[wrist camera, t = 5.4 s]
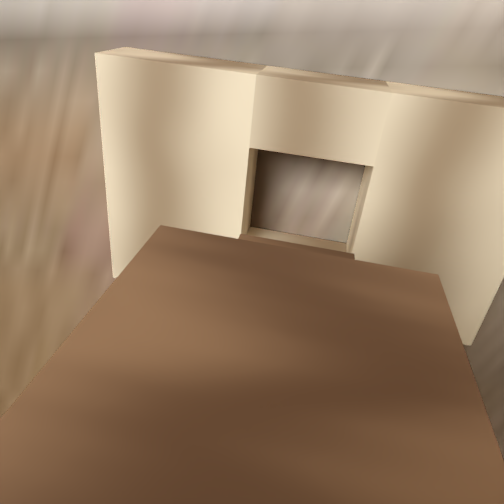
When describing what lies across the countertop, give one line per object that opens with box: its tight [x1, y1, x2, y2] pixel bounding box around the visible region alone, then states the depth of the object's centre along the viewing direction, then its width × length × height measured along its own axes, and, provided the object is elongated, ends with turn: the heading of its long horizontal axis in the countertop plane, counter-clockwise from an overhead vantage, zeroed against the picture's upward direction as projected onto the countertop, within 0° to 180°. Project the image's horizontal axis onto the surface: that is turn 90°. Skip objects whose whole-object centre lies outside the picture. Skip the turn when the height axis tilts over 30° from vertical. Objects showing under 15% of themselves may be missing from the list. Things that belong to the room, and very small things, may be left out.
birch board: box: [95, 47, 504, 346], centre depth 18 cm, size 16×10×2 cm, turn 86°
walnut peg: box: [0, 225, 504, 504], centre depth 8 cm, size 6×6×9 cm
